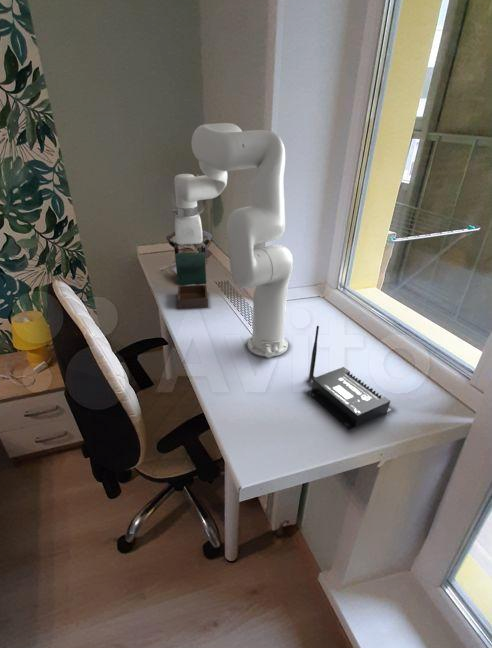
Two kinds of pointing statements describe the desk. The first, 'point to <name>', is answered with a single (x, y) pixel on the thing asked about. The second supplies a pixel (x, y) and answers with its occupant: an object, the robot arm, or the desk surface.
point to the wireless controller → (345, 395)
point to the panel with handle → (190, 268)
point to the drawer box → (192, 297)
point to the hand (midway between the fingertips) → (190, 257)
